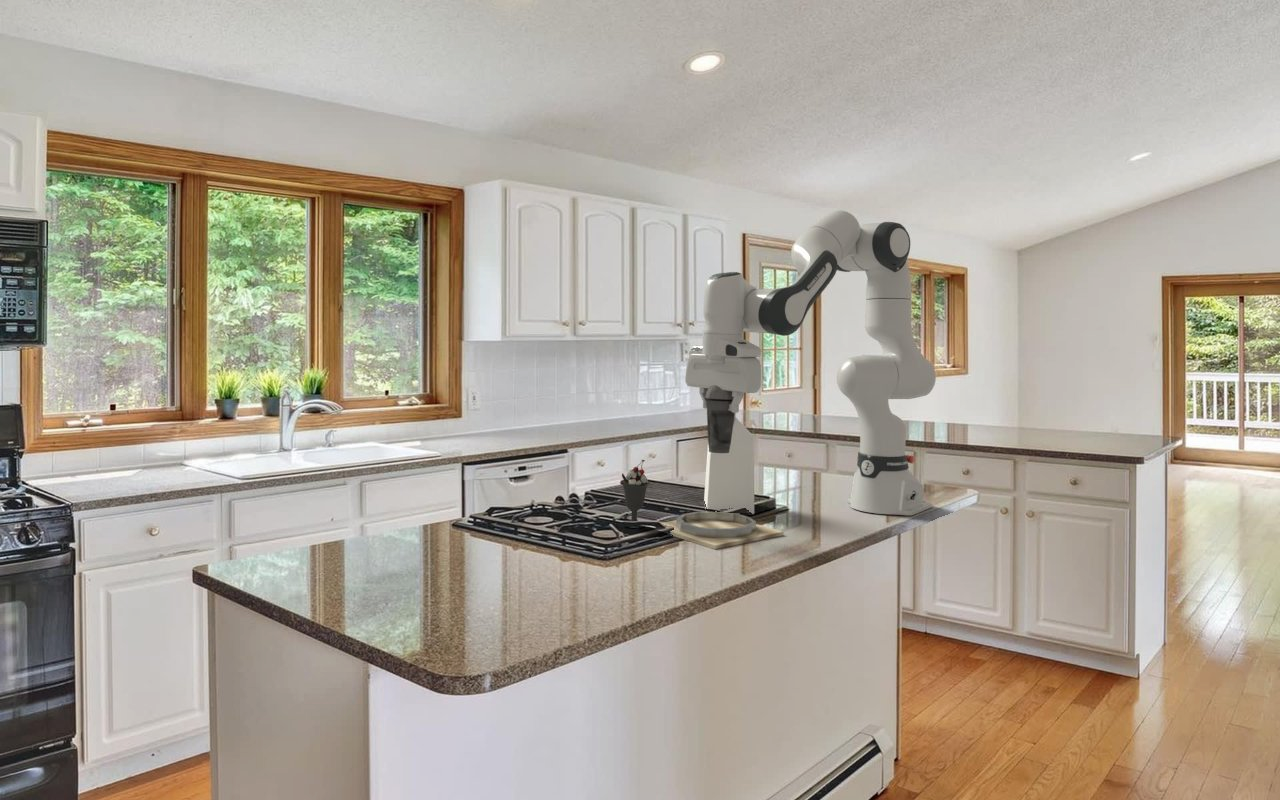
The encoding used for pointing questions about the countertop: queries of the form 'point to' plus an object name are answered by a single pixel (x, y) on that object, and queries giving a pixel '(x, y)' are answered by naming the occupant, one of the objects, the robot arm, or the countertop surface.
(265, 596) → the countertop surface
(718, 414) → the beverage cup
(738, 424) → the milk
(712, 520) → the ring seat
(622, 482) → the sundae
